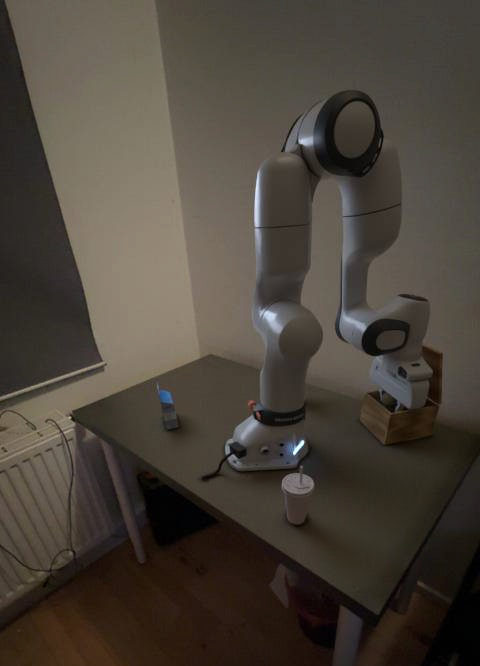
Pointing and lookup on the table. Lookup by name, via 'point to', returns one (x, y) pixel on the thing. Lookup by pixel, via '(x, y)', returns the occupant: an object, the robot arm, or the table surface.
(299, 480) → the smoothie
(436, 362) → the bin lid
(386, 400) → the olive tapered rounded piece
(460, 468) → the table surface
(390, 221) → the robot arm
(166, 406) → the cordless phone
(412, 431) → the bin
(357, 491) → the table surface
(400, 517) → the table surface
